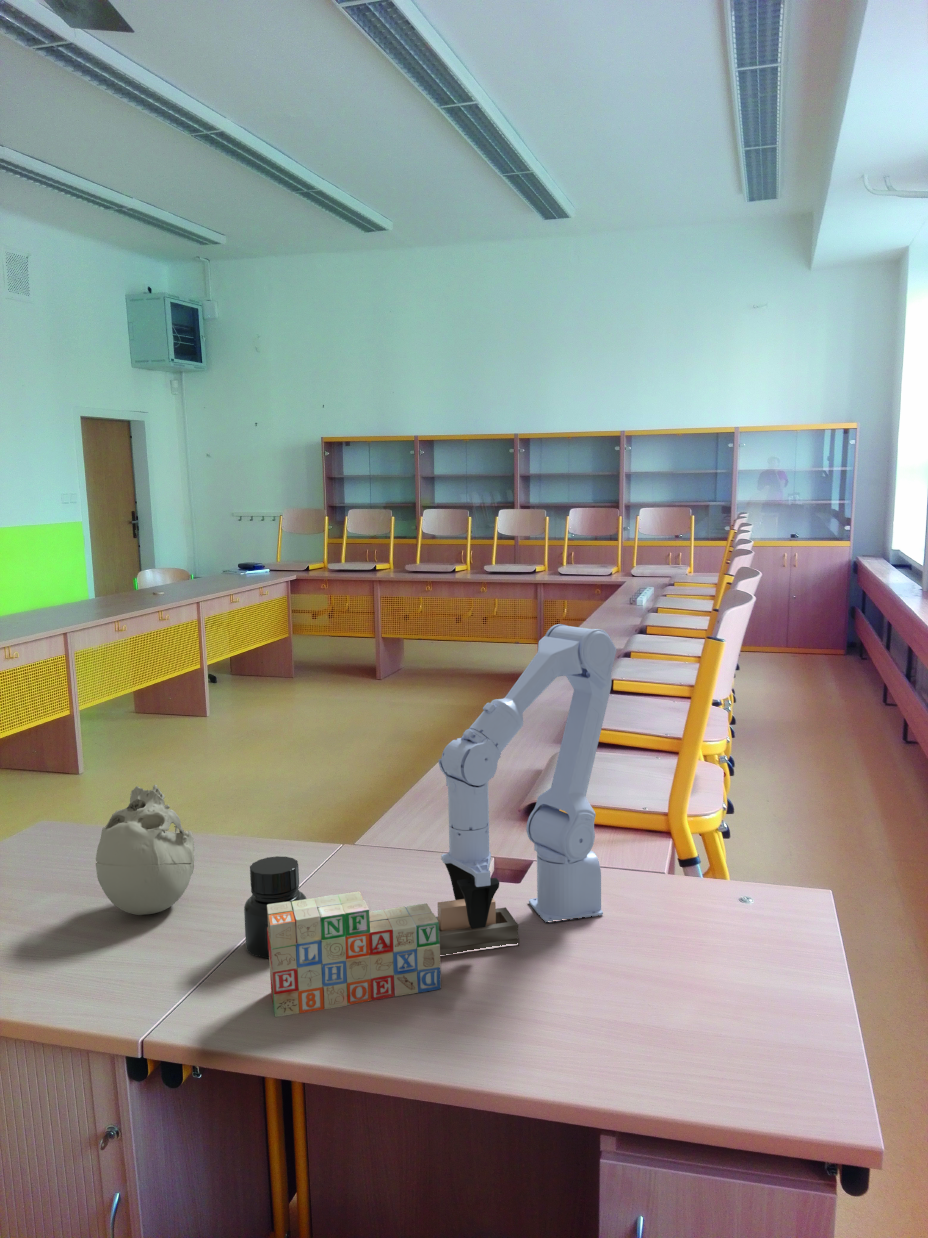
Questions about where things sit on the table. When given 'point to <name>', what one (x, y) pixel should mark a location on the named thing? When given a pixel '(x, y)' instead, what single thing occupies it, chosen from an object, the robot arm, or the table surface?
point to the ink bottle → (268, 897)
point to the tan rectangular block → (459, 915)
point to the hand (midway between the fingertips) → (470, 915)
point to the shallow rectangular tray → (480, 935)
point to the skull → (144, 855)
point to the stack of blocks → (348, 952)
